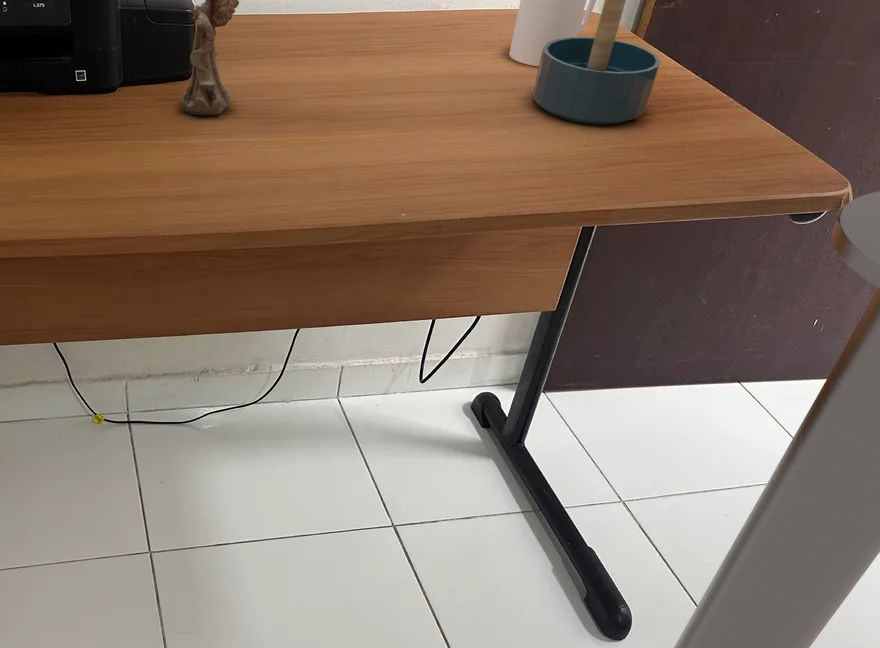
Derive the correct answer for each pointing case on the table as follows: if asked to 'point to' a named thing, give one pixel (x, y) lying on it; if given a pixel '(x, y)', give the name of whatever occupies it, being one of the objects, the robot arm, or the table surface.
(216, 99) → the figurine
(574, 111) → the bowl
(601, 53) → the stick
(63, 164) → the table surface
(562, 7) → the cup
